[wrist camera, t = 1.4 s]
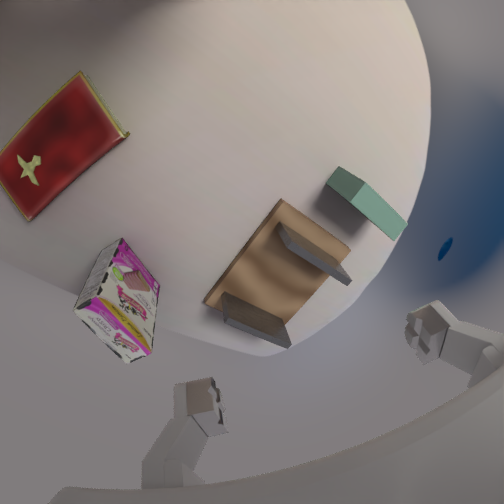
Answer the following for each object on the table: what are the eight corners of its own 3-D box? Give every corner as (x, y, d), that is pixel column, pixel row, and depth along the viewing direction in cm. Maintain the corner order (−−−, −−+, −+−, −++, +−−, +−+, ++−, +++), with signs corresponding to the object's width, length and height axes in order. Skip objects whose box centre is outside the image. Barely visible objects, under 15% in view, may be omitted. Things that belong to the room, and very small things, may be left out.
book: (338, 165, 47) (365, 182, 39) (380, 203, 51) (408, 224, 44) (325, 183, 48) (349, 202, 40) (367, 218, 52) (394, 241, 45)
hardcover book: (131, 134, 40) (124, 138, 36) (39, 213, 42) (28, 224, 39) (89, 72, 34) (79, 70, 30) (1, 160, 36) (-13, 167, 33)
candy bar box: (162, 284, 52) (154, 354, 38) (139, 296, 52) (126, 366, 38) (122, 234, 46) (96, 296, 32) (100, 249, 47) (70, 312, 33)
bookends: (279, 220, 48) (292, 241, 42) (335, 258, 53) (352, 280, 47) (220, 296, 53) (224, 322, 47) (278, 322, 58) (287, 348, 52)
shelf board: (280, 198, 48) (283, 201, 47) (347, 246, 54) (351, 250, 53) (204, 298, 55) (204, 303, 53) (273, 329, 61) (275, 334, 60)
